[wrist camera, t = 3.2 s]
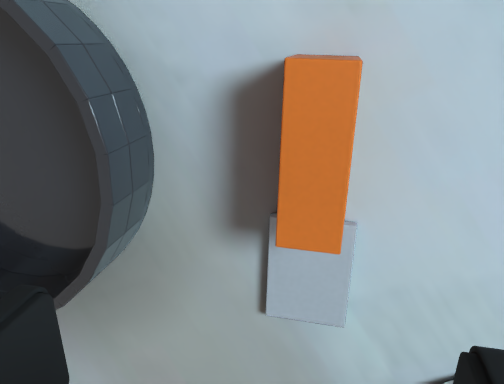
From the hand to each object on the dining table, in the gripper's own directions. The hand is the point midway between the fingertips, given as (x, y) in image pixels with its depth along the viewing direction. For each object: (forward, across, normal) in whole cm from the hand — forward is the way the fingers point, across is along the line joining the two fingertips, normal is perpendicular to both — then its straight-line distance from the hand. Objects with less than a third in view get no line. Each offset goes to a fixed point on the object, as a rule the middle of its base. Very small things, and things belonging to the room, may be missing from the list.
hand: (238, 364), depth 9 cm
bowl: (+15, +19, 0) cm, 24 cm away
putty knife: (+15, -1, +2) cm, 15 cm away
